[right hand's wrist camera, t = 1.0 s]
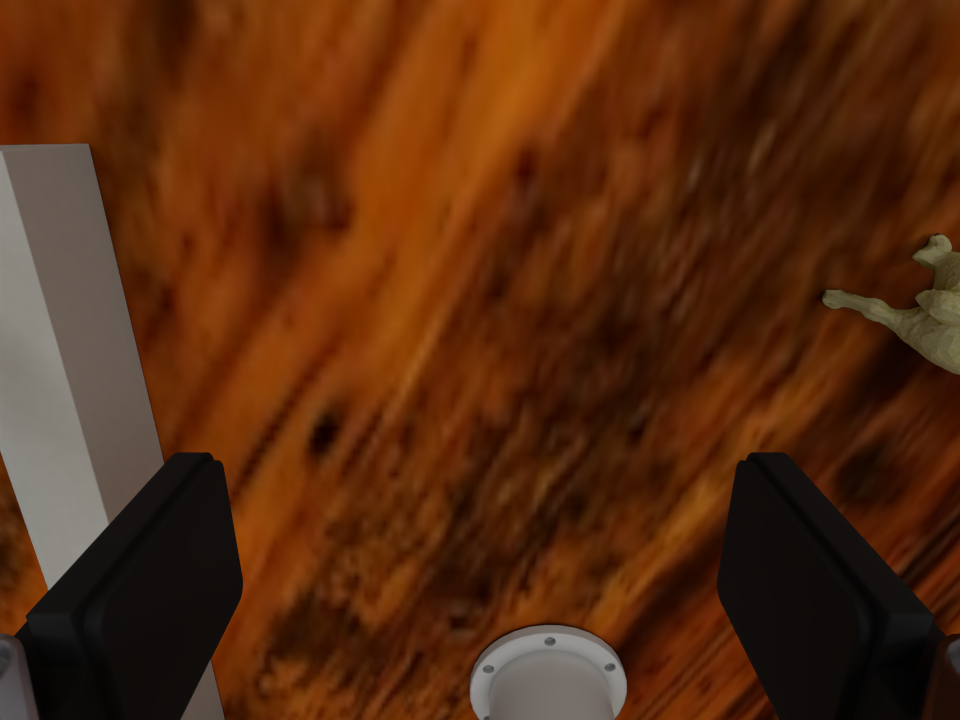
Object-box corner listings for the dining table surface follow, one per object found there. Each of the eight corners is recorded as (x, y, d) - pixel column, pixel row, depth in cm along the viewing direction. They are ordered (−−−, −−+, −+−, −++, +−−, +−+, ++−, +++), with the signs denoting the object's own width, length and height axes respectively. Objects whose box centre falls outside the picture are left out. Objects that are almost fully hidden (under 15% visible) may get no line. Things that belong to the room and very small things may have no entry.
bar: (237, 771, 55) (205, 861, 49) (182, 772, 55) (142, 861, 49) (89, 143, 36) (1, 151, 29) (3, 145, 36) (-104, 152, 29)
